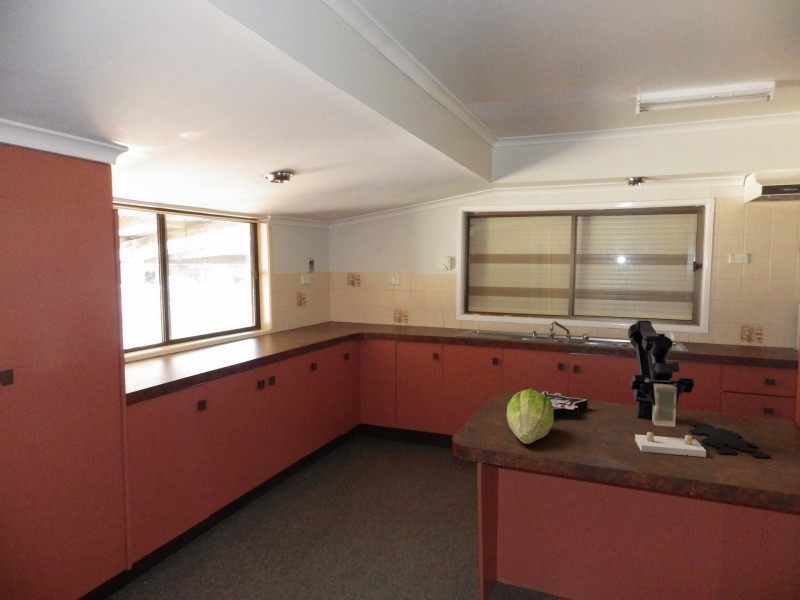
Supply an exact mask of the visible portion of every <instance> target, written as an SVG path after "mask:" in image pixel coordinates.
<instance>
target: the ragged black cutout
mask: <svg viewBox="0 0 800 600" xmlns="http://www.w3.org/2000/svg"><path fill="white" fill-rule="evenodd" d="M691 427H692V428H690V429H688V432H689V433H690V434H691V435H695V436H701V437H702V436H705V437H706V438H703V439H701V442H702V443H703V444H704V445H705V446H709V447H711V448H712V447H713V448H714V449H715V453H717V454H718V455H723V456H724V455H725V456H733V457H734V456H736V455H739V454H738V453H739V452H741V453H747V454H750V456H751V457H752V458H753V459H762V460H769V459H771V455H769V454H768V453H764V452H763V451H761V450H759V446H758V445H757V444H755V443H754V442H750V441H745V440H742V439H743V436H742V435H741V434H740V433H738V432H734V431H733V430H729V429H725V428H719V427H718V428H717V427H714V425H712V424H708V423H703V422H695V423H692V424H691ZM693 427H694V428H693Z"/></svg>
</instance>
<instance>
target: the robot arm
mask: <svg viewBox="0 0 800 600" xmlns="http://www.w3.org/2000/svg"><path fill="white" fill-rule="evenodd" d="M627 337H628V339H629V342H630V344H631V345H632V346H633V348H635V353H636V354H635V355H636V361H637V368H638V374H633V375H632V376H631V379H630V384H629V385H630V389H631V390H633V393H632V394H633V396H632V397H633V400H634V401H635V402H636V403H637V411H636V412H635V415H636V418H637V419H643V420H647V419H648V420H652V415H653V405H654V406H655V405H656V404H655V397H654V394H653V388H654V384H667V385H674V386H675V387H676V388H677V394H676V408H677V407H678V403H679V398H680V395H683V393H685V394H689V393H691V392H692V391H693V389H694V386H695V381H694V380H695V379H694V378H692V377H685V376H680V377H679V378H678V380H671V379H673V374H674V373H678V372H680V365H679V362H678V361H672V362H671V363H670V362H668V359H667V358H668V357H669V355H670V352H671V350H672V347H673V341H672V339H671V338H669V337H668V336H666V335H665V333H658V332H657V331H656V330H655V328H654V327H653V324H652V321H651V320H645V319H643V320H641V319H640V320H637V321H635V323H634V324H632V325H630V326H629V328H628V331H627Z"/></svg>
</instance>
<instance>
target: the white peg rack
mask: <svg viewBox="0 0 800 600" xmlns="http://www.w3.org/2000/svg"><path fill="white" fill-rule="evenodd" d="M634 441H635V443H636V445H637V446H638V448H639V450H640V452H645V453H655V454H665V455H666V454H667V455H678V456H687V455H688V456H691V457H701V458H706V456H707V450H706V449H705V448H704V447H703V446H702V444H701V443H700V442H699V441H698V440H697V439H694V438H693V436H692V435H690V434H685V435H684V438H682V437H671V436H670V437H669V436H659V435H655V433H654V432H651V431H647V432H646V434H636V433H635V435H634Z"/></svg>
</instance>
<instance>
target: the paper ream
mask: <svg viewBox="0 0 800 600" xmlns="http://www.w3.org/2000/svg"><path fill="white" fill-rule="evenodd" d="M653 394H654V397H655V404H656V405H655V406H654V405H653V415H652V419H651V420H652V423H653V424H654V426H661V427H676V414H677V407H676V394H677V388H676V387H675V386H674V385H667V384H654V388H653Z"/></svg>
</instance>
